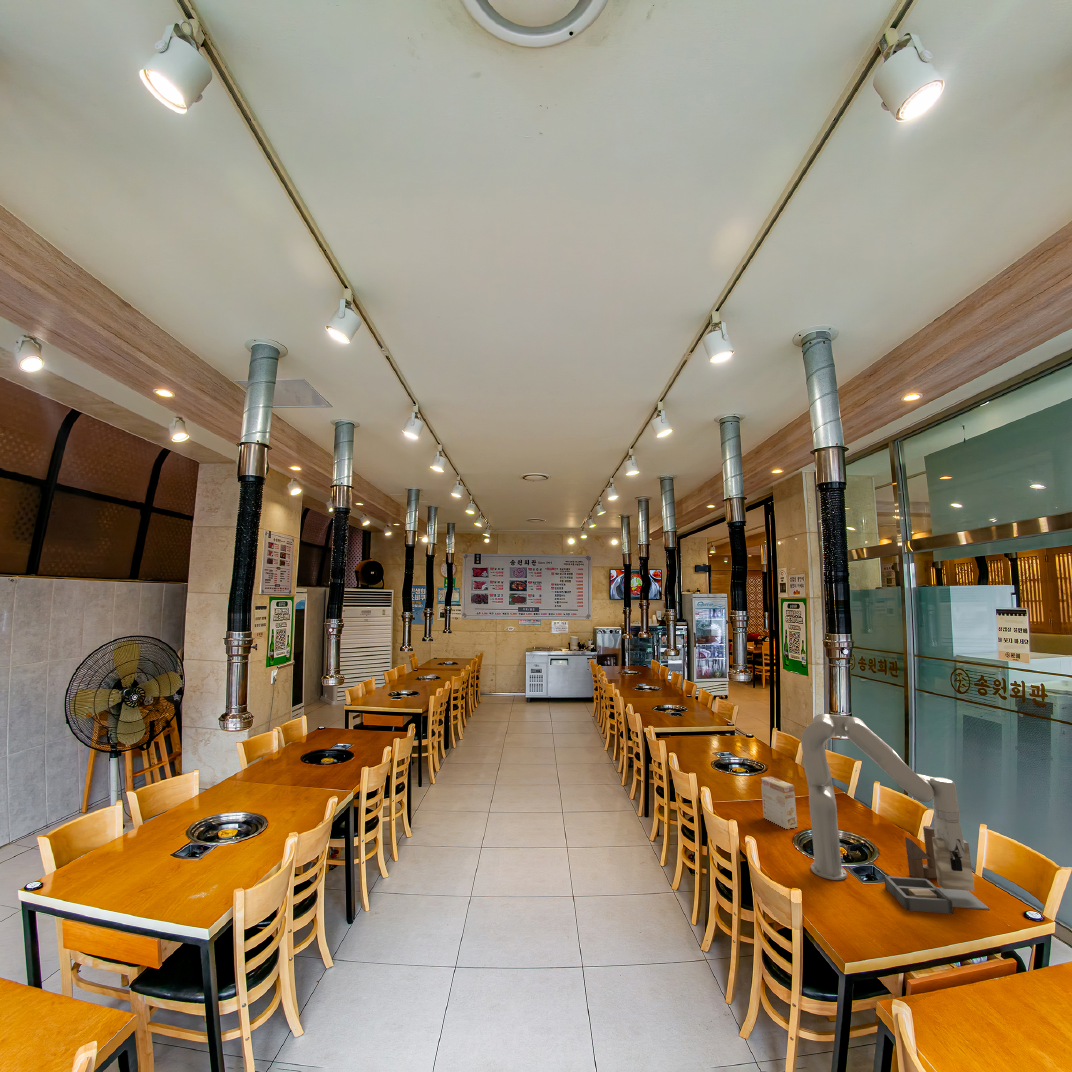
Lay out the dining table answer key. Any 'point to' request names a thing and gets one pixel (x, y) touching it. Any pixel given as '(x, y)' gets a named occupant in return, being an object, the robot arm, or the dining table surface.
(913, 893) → the offcut upper
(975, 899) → the mat
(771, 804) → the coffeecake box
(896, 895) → the tray
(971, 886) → the plywood sheet
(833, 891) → the dining table surface
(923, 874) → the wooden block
